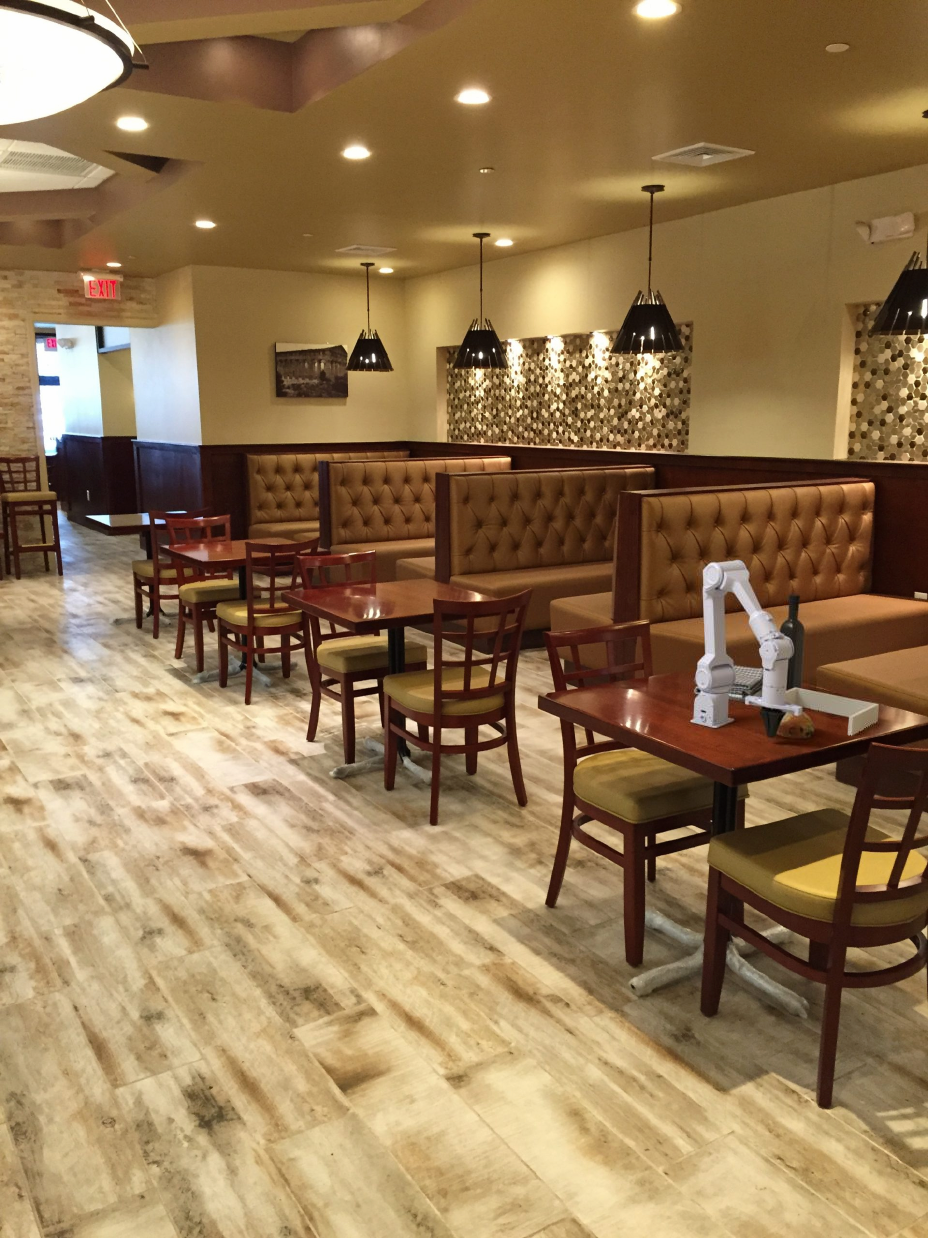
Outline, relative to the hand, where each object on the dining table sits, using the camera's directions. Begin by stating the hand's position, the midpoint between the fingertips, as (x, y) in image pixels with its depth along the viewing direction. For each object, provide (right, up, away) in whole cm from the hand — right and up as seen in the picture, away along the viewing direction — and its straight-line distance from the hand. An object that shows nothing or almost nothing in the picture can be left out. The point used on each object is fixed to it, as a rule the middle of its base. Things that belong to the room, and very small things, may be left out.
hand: (771, 736), depth 251 cm
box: (+20, +2, +20) cm, 28 cm away
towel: (+2, +7, +44) cm, 45 cm away
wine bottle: (+18, +7, +43) cm, 47 cm away
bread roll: (+9, 0, +8) cm, 12 cm away
